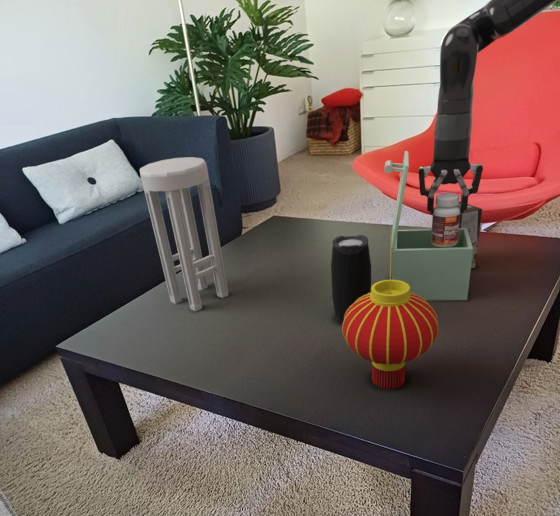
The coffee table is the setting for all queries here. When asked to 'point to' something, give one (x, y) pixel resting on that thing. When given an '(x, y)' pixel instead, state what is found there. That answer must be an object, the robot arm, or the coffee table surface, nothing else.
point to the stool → (184, 226)
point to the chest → (433, 265)
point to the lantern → (390, 327)
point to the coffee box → (471, 227)
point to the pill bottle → (445, 220)
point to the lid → (404, 171)
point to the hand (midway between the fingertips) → (446, 212)
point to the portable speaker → (349, 272)
